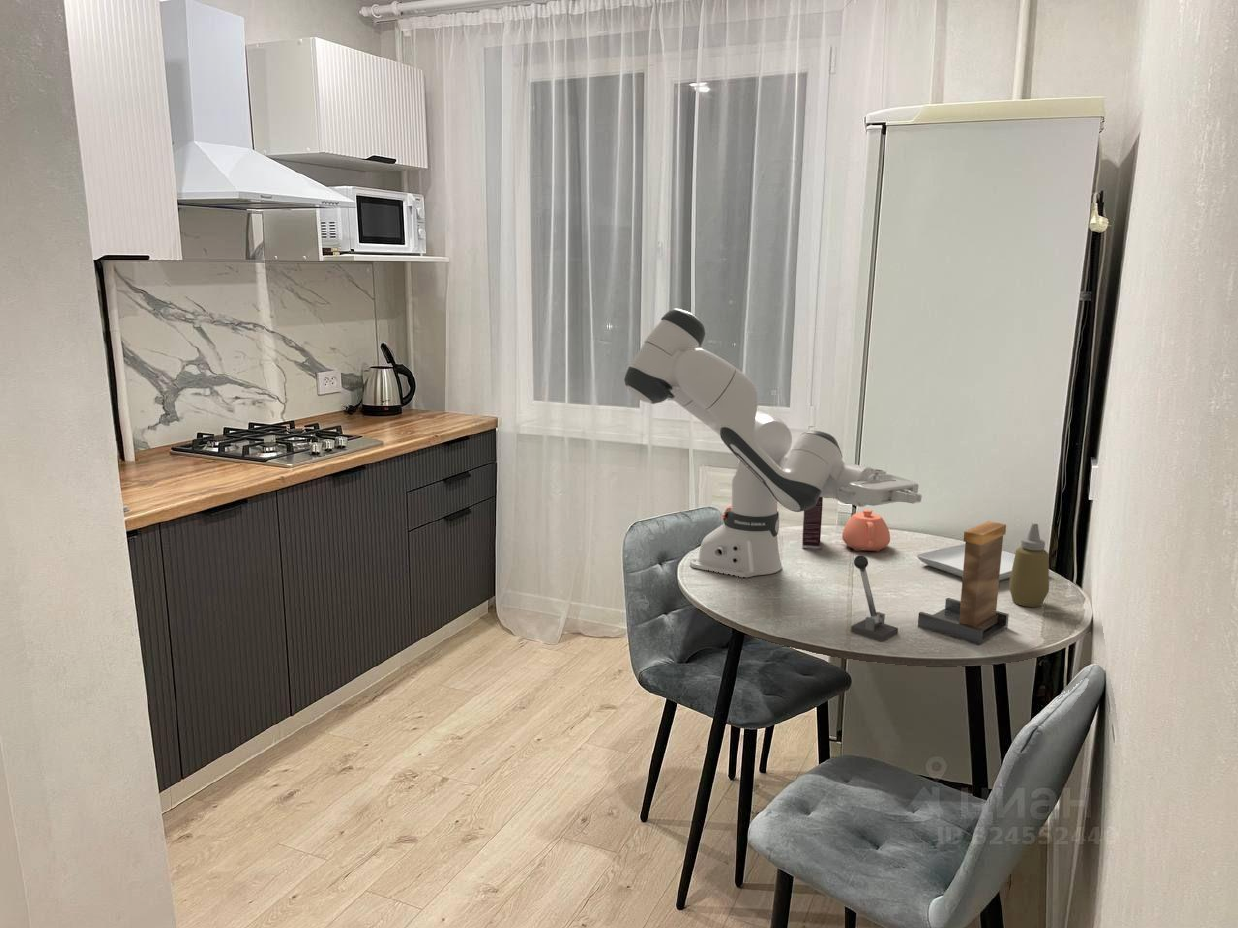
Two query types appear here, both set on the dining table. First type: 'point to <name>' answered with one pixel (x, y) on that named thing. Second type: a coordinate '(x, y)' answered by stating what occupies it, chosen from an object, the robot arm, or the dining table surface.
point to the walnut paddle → (981, 574)
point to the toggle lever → (867, 587)
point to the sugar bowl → (866, 532)
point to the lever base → (874, 629)
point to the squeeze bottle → (1030, 571)
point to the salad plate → (961, 560)
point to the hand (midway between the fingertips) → (918, 499)
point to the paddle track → (960, 624)
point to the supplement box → (812, 526)
